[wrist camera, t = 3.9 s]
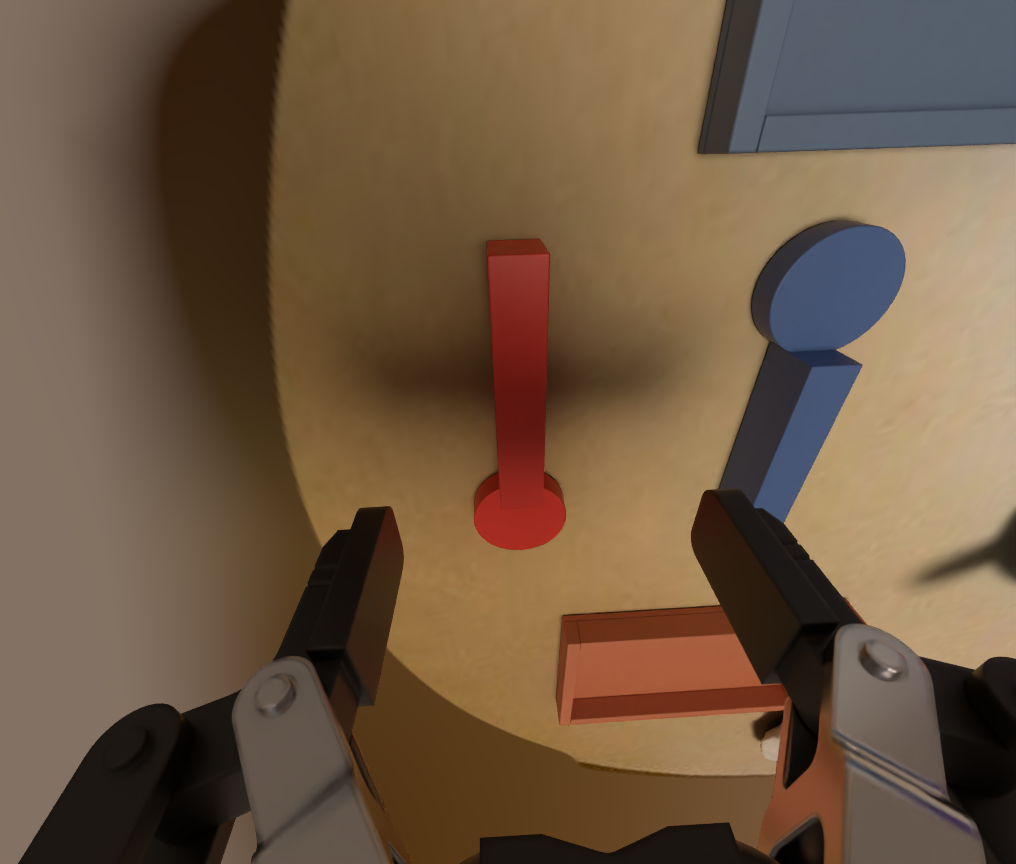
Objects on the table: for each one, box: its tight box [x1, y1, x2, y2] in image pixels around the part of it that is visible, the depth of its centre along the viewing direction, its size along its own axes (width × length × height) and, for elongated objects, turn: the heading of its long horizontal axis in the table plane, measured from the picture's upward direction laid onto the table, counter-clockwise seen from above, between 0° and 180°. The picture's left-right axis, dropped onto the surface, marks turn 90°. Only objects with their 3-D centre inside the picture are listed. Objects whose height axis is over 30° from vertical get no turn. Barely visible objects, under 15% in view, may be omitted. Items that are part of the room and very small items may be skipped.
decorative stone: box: [760, 723, 782, 761], centre depth 36 cm, size 9×6×3 cm, turn 14°
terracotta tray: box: [556, 599, 867, 726], centre depth 29 cm, size 19×12×2 cm, turn 92°
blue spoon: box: [719, 221, 906, 523], centre depth 17 cm, size 14×4×2 cm, turn 2°
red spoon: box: [474, 239, 566, 550], centre depth 17 cm, size 14×4×2 cm, turn 2°
